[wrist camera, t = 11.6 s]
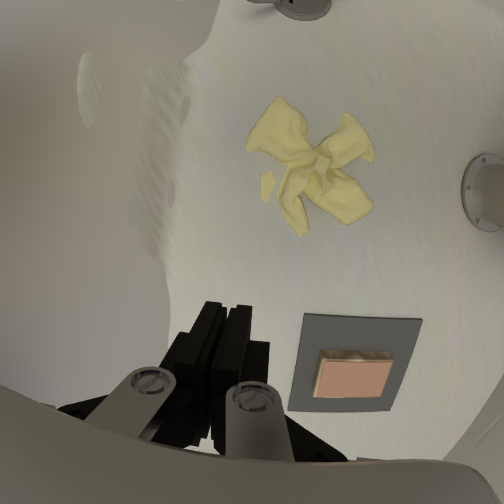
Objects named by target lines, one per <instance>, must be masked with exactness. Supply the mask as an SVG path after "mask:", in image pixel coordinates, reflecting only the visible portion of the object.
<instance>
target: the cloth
mask: <svg viewBox="0 0 504 504" xmlns="http://www.w3.org/2000/svg"><path fill="white" fill-rule="evenodd" d="M306 133H307V124H306V121H305V119H304V117H303V116H302V114H301V113H300V112H299V111H298V110H297V109H295V108H294V107H292V106H290V104H289V103H288V102H287V101H286V99H285V98H284V97H282V96H277V97H276V98H275V99H274V101H273V102H272V103H271V104H270V106H269V107H268V108H267V110H266V111H265V112H264V113H263V115H262V116H261V118H260V119H259V120H258V122H257V123H256V125H255V126H254V127H253V129H252V130H251V132H250V133H249V135H248V137H247V140H246V143H245V148H246V149H247V150H248V151H249V152H250V151H261V152H264V153H266V154H268V155H270V156H271V157H273V158H274V159H275V160H277V161H279V162H282V163H285V164H286V166H287V167H288V170H287V172H286V174H285V176H284V178H283V179H282V181H281V183H280V186H279V188H278V194H277V201H278V203H279V206H280V208H281V210H282V211H283V214H284V219H285V221H286V222H287V223H288V224H289V225H290V227H291V228H292V229H293V230H294V231H295V232H296V234H297V235H298V236H301V235H304V234H307V233H308V231H309V224H308V218H307V215H306V213H305V210H304V207H303V204H302V201H301V199H300V198H299V196H298V195H299V194H300V193H302V192H303V193H304V194H305V195H306V196H307V197H308V198H309V199H310V200H311V201H312V202H313V203H314V204H315V205H316V206H318V207H320V208H321V209H323V210H325V211H327V212H329V213H330V214H332V215H333V216H335V217H336V218H338V221H339V223H340V224H341V225H350V224H352V223H353V222H355V221H357V220H359V219H360V218H362V217H363V216H365V215H366V214H368V213H369V212H371V210H372V209H373V207H374V202H373V201H371V200H370V199H369V198H368V197H367V196H366V194H365V192H364V191H363V189H362V188H361V186H360V185H359V184H358V183H357V182H356V181H355V180H354V179H353V178H351V177H349V176H347V175H346V174H345V173H343V172H342V171H340V170H339V169H337V168H340V167H343V166H345V165H347V164H348V163H350V162H352V161H353V160H355V159H357V158H358V157H362V158H364V159H365V160H367V161H368V162H373V160H374V159H375V151H374V146H373V144H372V143H371V141H370V138H369V136H368V134H367V132H366V131H365V129H364V128H363V126H362V125H361V123H360V122H359V121H358V120H357V119H356V118H355V117H354V116H353V115H352V114H350V113H348V112H344V113H343V114H342V119H341V123H340V125H339V127H338V128H337V130H336V131H335V132H334V133H333V134H332V135H330V136H329V137H328V138H326V139H324V140H323V142H322V143H321V144H319V145H318V147H316V148H311V147H310V145H309V143H308V141H307V139H306ZM330 169H334V170H333V171H331V170H330ZM275 184H276V182H275V178H274V175H273V173H271V172H264V173H260V186H259V195H260V197H261V198H262V199H263V201H264V203H265V204H266V203H267V202H268V199H269V197H270V195H271V193H272V190H273V186H274V185H275Z"/></svg>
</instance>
